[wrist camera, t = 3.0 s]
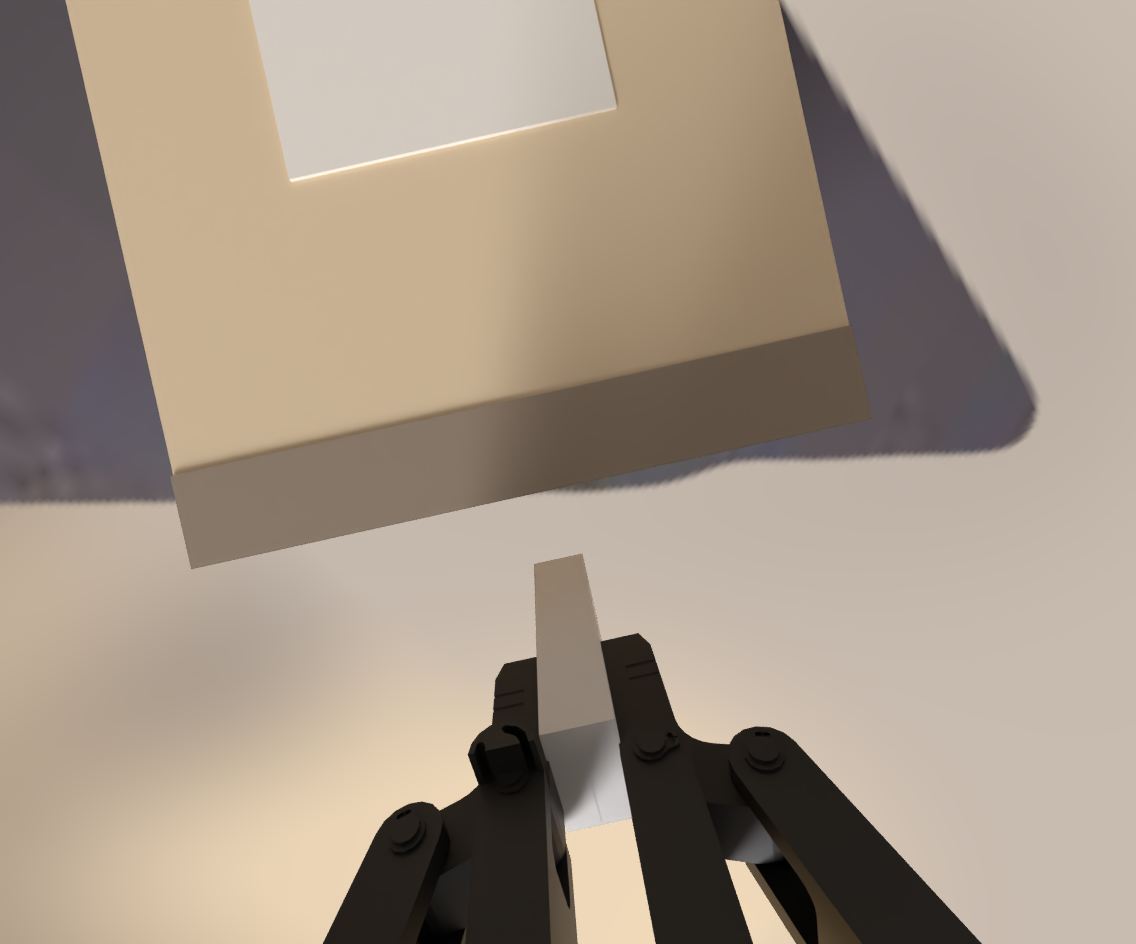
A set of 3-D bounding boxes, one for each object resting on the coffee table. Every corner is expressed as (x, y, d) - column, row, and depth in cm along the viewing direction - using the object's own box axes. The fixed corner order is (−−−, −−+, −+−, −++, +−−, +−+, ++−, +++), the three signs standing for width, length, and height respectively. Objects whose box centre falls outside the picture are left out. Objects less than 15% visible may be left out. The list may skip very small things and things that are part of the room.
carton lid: (10, -356, 12) (-33, -420, 11) (650, -503, 12) (656, -579, 11) (218, 561, 13) (191, 569, 12) (850, 422, 12) (872, 418, 12)
